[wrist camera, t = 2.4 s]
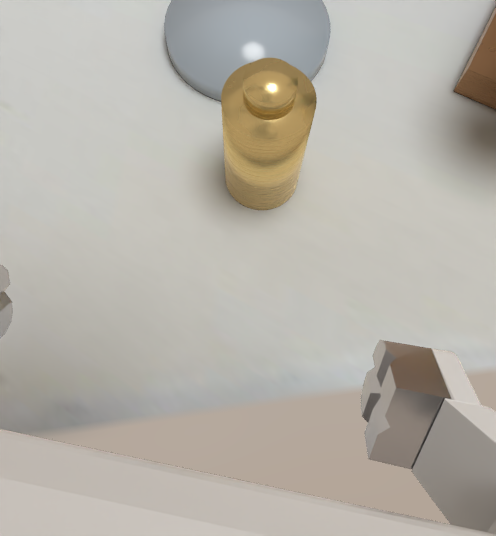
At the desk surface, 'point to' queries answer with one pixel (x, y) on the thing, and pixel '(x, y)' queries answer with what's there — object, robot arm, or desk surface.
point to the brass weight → (265, 131)
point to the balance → (481, 68)
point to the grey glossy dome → (243, 37)
